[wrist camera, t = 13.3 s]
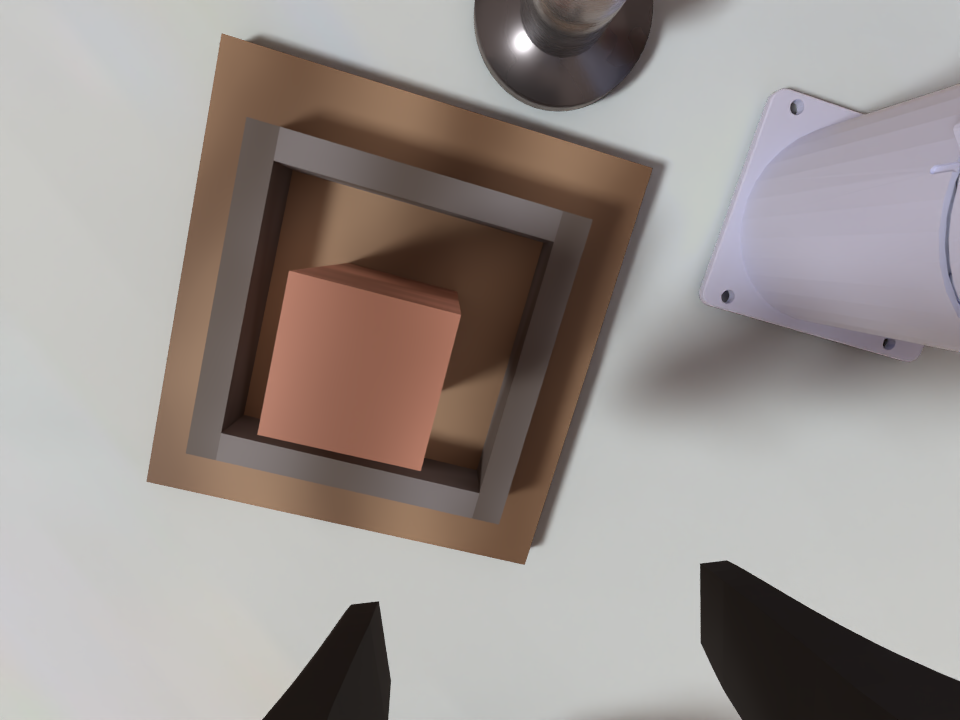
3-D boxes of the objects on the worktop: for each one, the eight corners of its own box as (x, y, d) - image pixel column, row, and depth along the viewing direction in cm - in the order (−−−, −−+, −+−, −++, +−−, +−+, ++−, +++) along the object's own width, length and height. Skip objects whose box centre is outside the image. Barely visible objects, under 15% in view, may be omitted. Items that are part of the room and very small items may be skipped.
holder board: (642, 172, 20) (676, 158, 17) (521, 551, 23) (532, 596, 20) (234, 45, 18) (192, 5, 15) (160, 470, 21) (113, 506, 18)
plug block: (457, 291, 19) (461, 314, 12) (430, 394, 20) (420, 471, 13) (347, 263, 19) (288, 270, 12) (325, 369, 19) (257, 434, 13)
